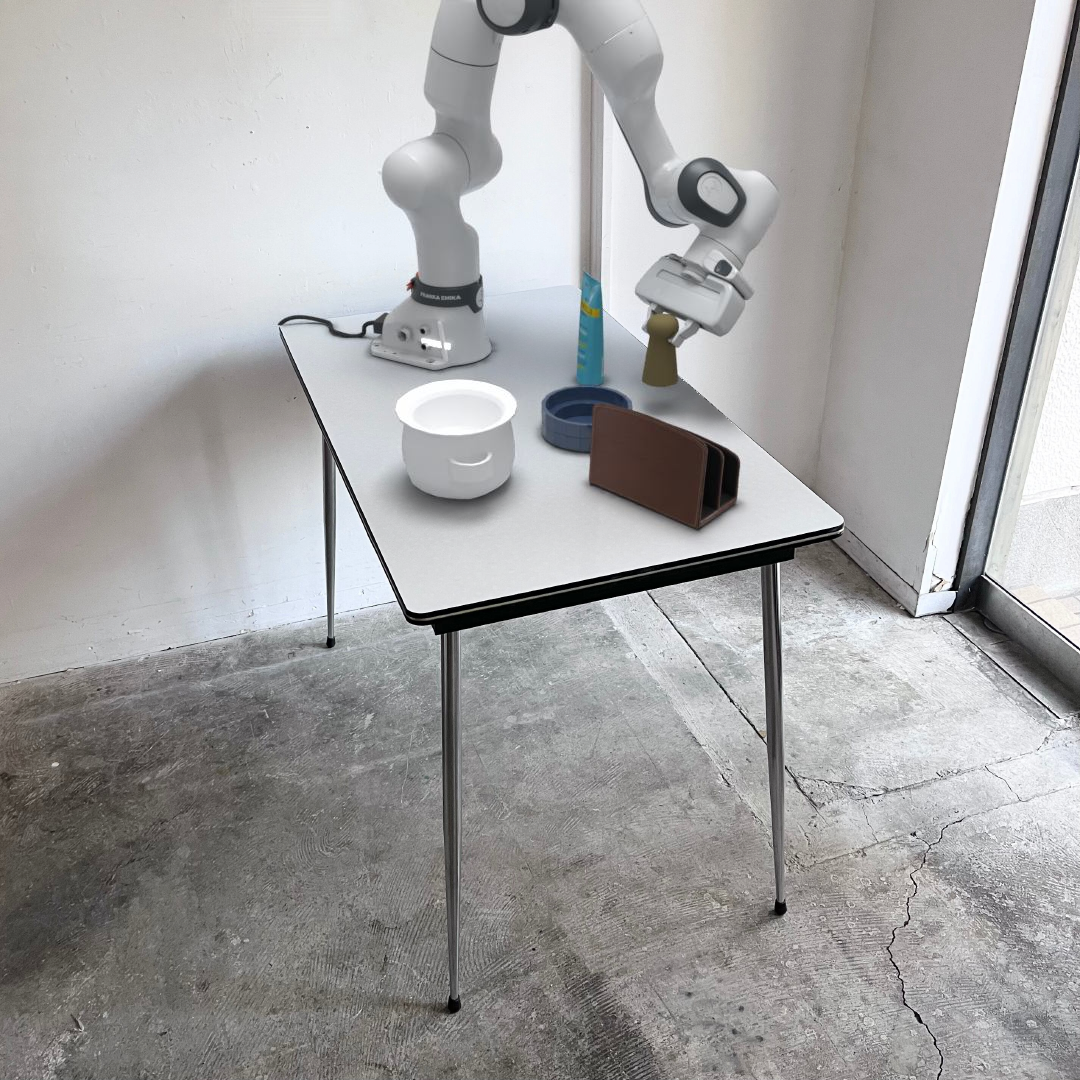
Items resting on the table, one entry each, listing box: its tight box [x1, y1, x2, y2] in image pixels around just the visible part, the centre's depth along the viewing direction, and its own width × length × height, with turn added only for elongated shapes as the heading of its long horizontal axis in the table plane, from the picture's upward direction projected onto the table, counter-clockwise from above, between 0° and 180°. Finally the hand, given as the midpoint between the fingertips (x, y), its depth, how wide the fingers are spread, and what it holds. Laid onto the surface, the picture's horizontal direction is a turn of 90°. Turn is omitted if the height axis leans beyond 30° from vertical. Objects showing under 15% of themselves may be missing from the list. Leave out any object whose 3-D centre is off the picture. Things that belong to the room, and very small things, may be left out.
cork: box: [641, 313, 680, 388], centre depth 177 cm, size 6×6×11 cm
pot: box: [394, 379, 518, 500], centre depth 159 cm, size 22×17×12 cm
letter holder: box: [588, 403, 741, 531], centre depth 155 cm, size 10×20×14 cm, turn 48°
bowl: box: [540, 384, 633, 452], centre depth 174 cm, size 14×14×5 cm
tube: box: [575, 268, 605, 386], centre depth 187 cm, size 7×5×19 cm, turn 26°
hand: (659, 338), depth 175 cm, fingers closed on cork, 5 cm apart
